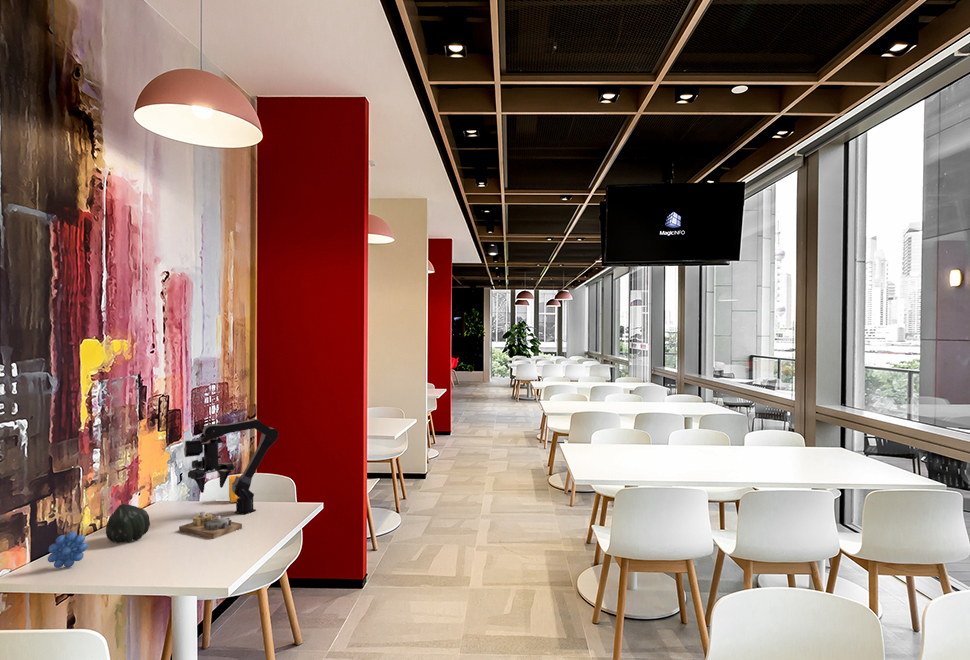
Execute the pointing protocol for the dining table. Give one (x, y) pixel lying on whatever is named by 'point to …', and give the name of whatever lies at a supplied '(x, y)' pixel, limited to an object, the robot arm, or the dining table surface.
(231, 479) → the bracket
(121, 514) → the squash
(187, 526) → the gear board
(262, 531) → the dining table surface
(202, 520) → the brass gear
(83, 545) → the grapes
